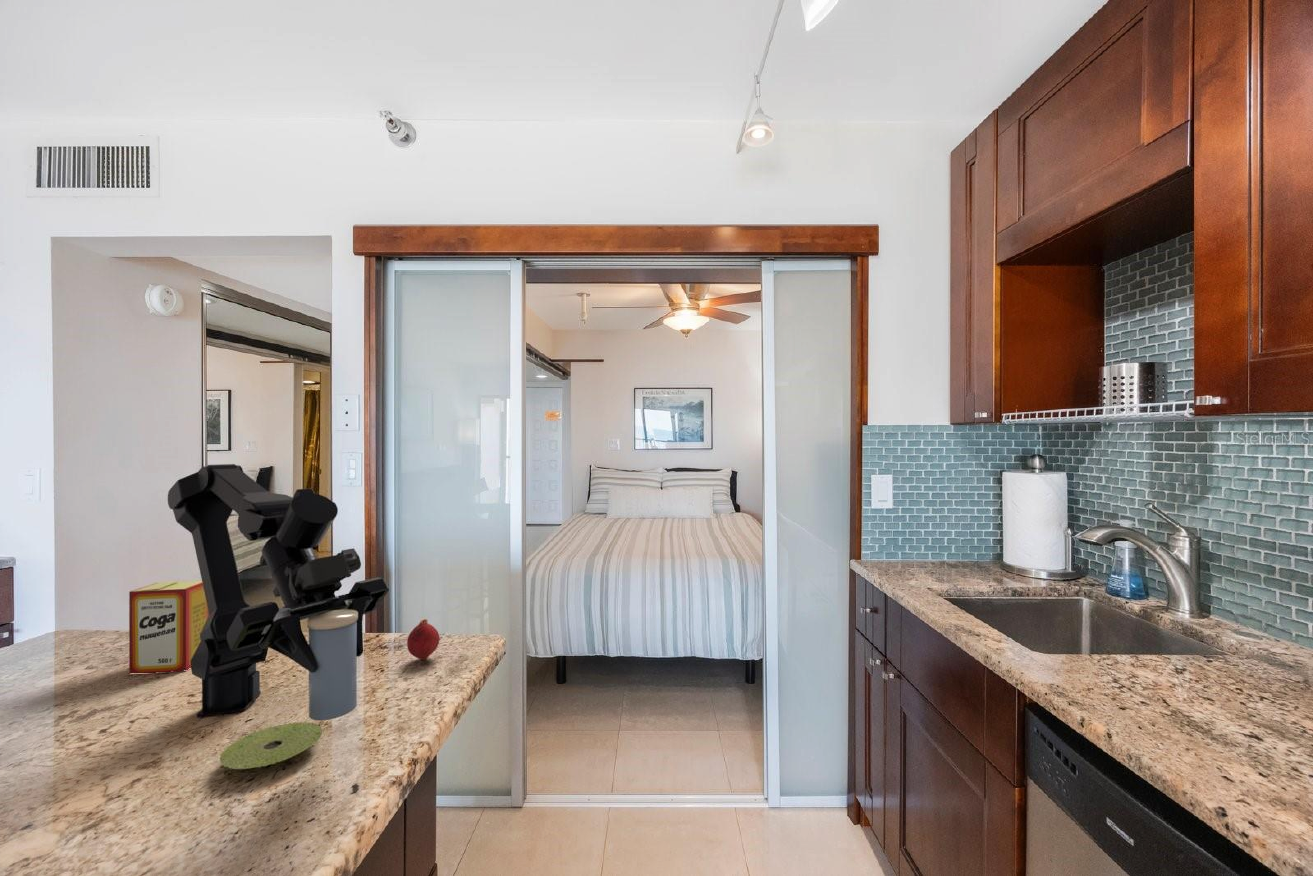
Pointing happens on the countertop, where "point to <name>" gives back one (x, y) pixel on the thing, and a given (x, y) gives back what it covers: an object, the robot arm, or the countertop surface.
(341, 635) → the canister
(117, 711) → the countertop surface
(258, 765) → the mat
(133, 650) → the baking soda box
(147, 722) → the countertop surface
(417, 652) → the onion
